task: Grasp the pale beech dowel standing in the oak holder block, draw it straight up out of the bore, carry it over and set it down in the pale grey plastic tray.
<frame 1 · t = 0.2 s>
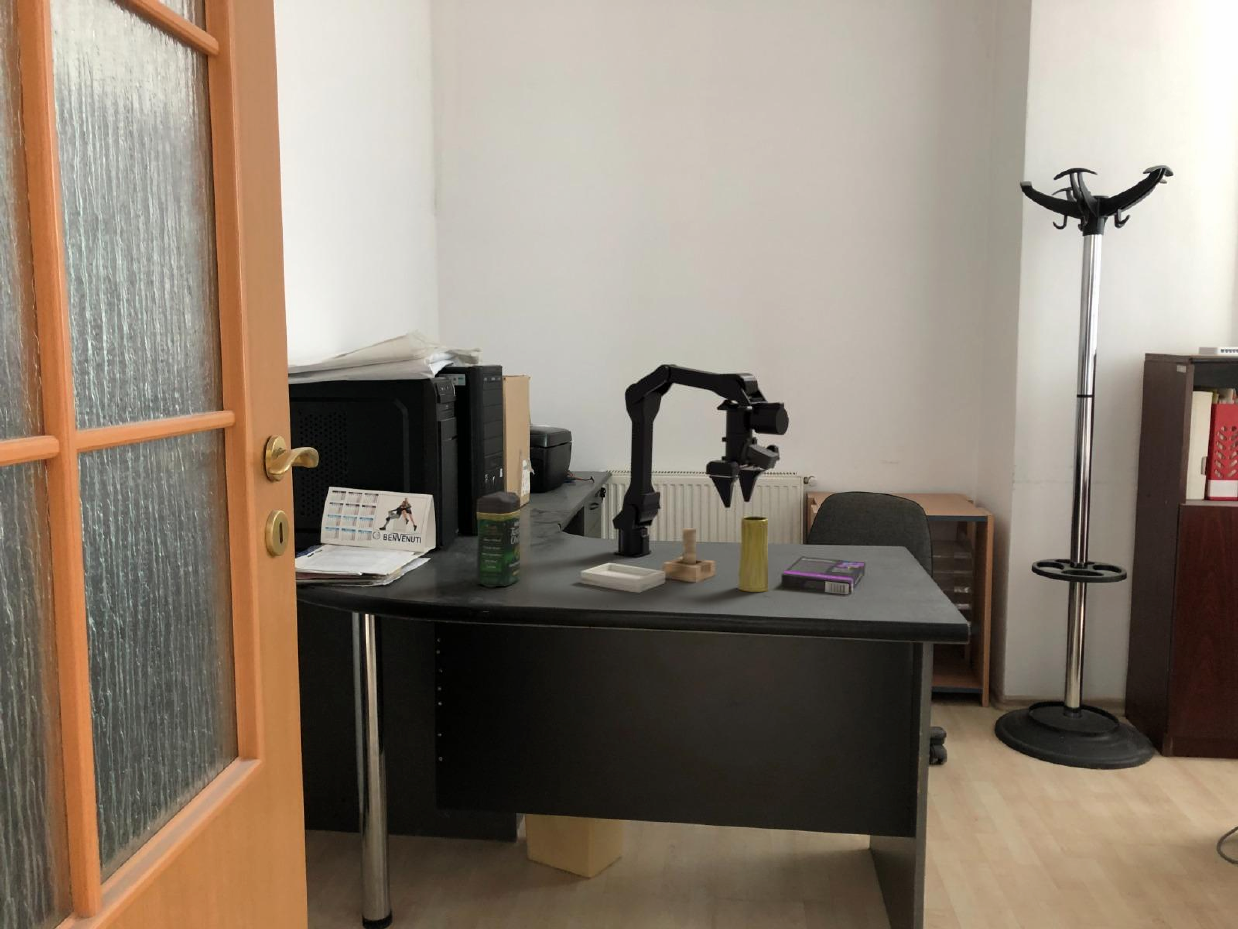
hand: (737, 504, 212), 14 cm above the table, tool pointing down, fingers open, 9 cm apart
vase: (753, 589, 198), on the table
box: (824, 583, 205), on the table
holder: (688, 576, 208), on the table
dowel: (689, 552, 208), in the holder
coffee jar: (499, 583, 202), on the table
tray: (622, 583, 202), on the table
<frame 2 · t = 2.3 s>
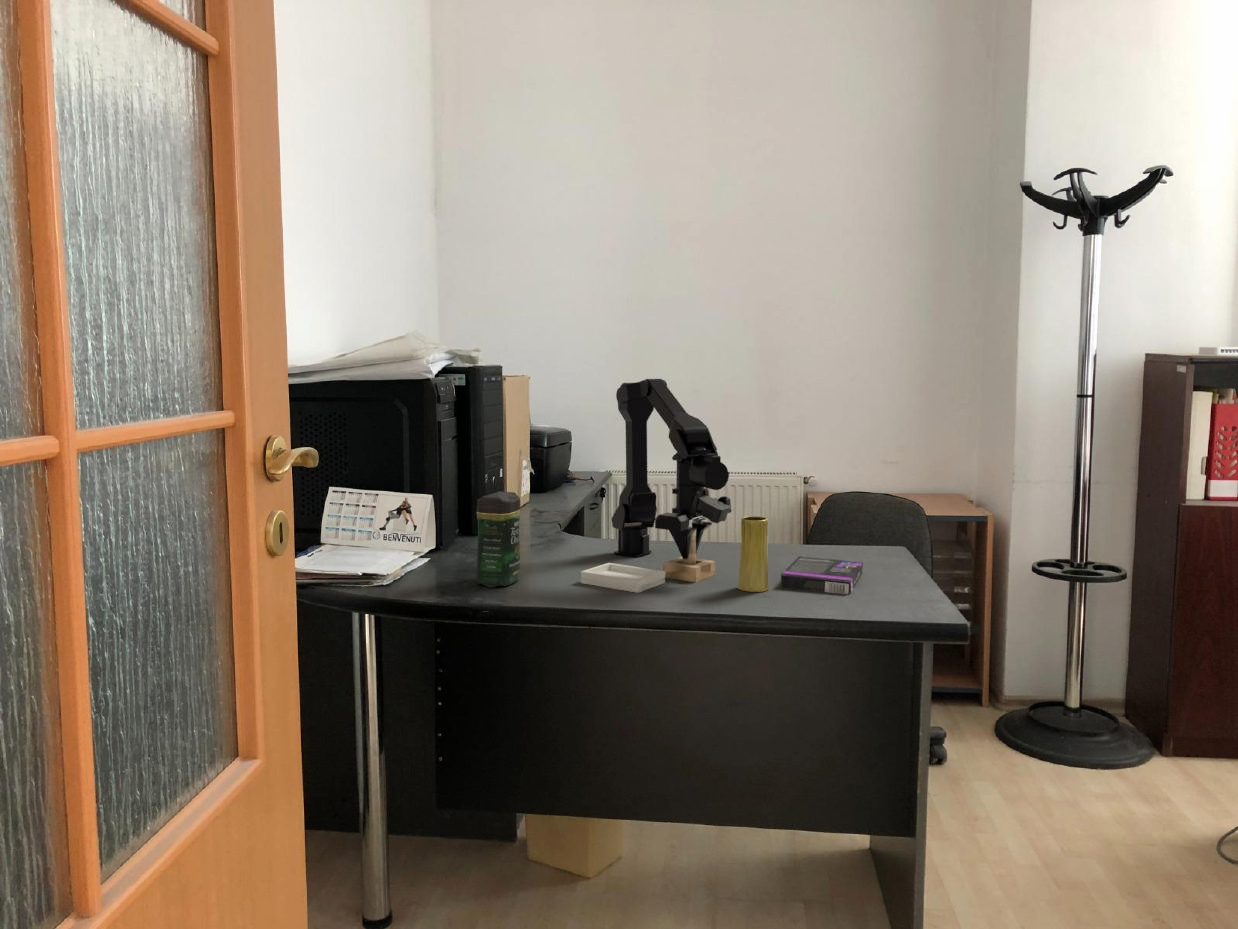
hand: (689, 557, 208), 4 cm above the table, tool pointing down, fingers closed on dowel, 3 cm apart
dowel: (689, 552, 208), in the holder, touching gripper
everything else where it was.
when the fingers open (6 cm above the table, at t = 6.0 s): dowel drops 1 cm, resting on tray.
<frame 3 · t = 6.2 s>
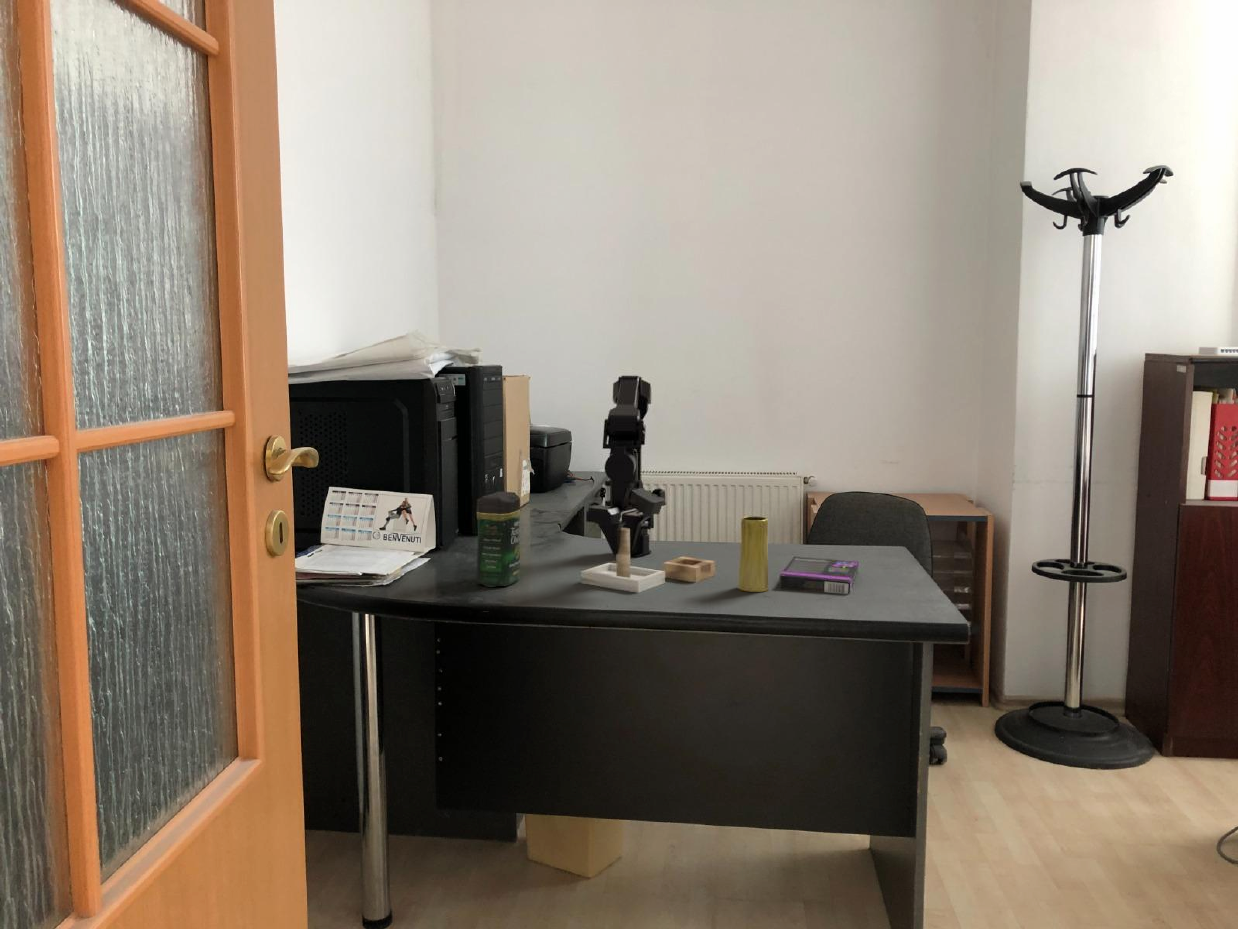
hand: (623, 551, 201), 6 cm above the table, tool pointing down, fingers open, 5 cm apart
dowel: (623, 553, 201), in the tray, point 6 cm above the table
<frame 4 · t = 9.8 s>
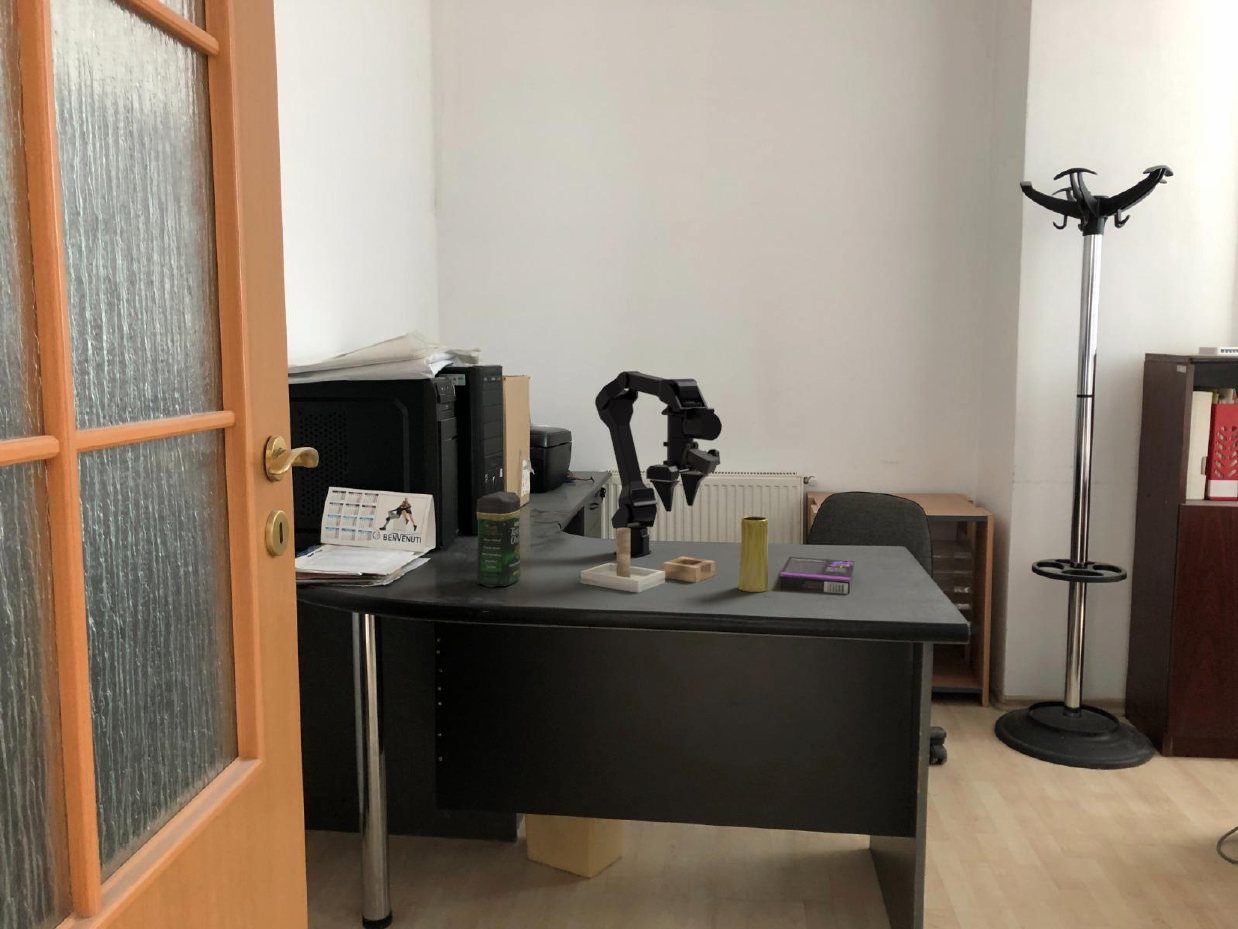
hand: (679, 508, 215), 13 cm above the table, tool pointing down, fingers open, 9 cm apart
at the end: dowel inside the target area on the tray (0.1 cm from its centre), point 6.2 cm above the tray's base; the gripper is holding nothing; dowel touching tray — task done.
